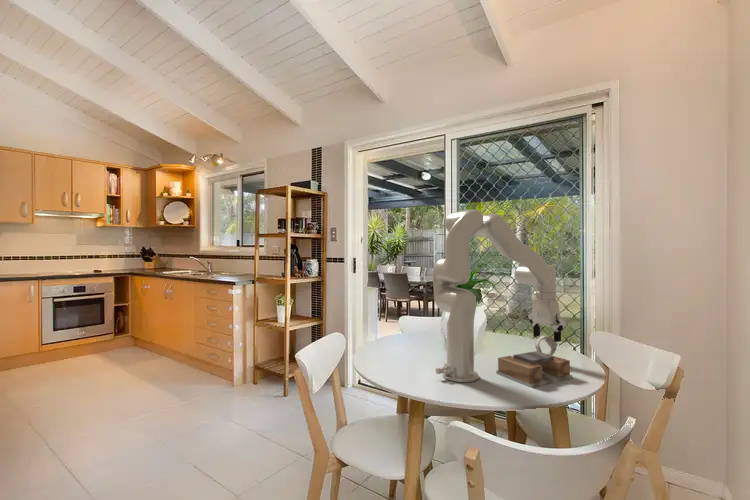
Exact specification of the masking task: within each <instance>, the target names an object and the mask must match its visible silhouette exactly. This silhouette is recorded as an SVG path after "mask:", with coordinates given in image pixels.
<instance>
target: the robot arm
mask: <svg viewBox="0 0 750 500" xmlns="http://www.w3.org/2000/svg"><path fill="white" fill-rule="evenodd" d="M444 224H445V229H446V231H448V234H447V236H446V238H445V243H444V244H445V245H444V250H445V251H444V256H445V257H443V258H440V259H438V260H437V261H436V262H435V264H434V266H433V269H432V287H433V298H434V302H435V303H434V304H435V305H436V306H437V309H439V310H441V311H443V312H446V313H449V316H448V319H447V322H446V363H444V365H443V366H442V367H437V368H435V373H436V374H437V375H441V374H442V377H443V378H444V379H446V380H449V381H451V382H457V383H471V382H476V381H477V380H479V377H480V376H479V373H478V372H477V371H475V314H476V311H477V310H476V309H477V299H476V296H475V295H474V293H473V292H472V291H470V290H468V289H466V288H461V287H456V286H457V285H458V286H459V285H460V286H461V285H465V284H467V283H468V282H469V281H470V278H471V257H470V245H471V241H472V239H473V238H482V237H483V238H485V237H487V238H488V240H489V241H490V242H491V243H492V245H493V246H494V247H495V248H496V250H497V251H498V253H499V254H500V255H501V256H502V257H504V258H506V259H509V260H510V261H511V260H512V262H513V261H514V262H516V263H518V264H520V265H521V266H520V265H519V266H518V267H517V268H516V269H515V271H514V278H515V280H516V282H518V283H519V284H522V285H530V286H533V285H534V287H535V291H534V292H533V295H534V296H535V298H533V302H532V307H531V308H532V311H531V313H529V314H527V316H528V319H529V323H530V324H531V326H532V329H533V335H532V336H533V338H538V337H540V336H541V327H540V326H541V325H542V326H545V327H552V329H553V330H554V331H553V339H554V342H556V343H559V342H561V341H562V332H563V330H564V329H565V328H566V325H567V324H568V321H567V320H566V319H564V318H563V317H562V316H561V312H560V306H559V301H558V300H557V280H556V279H557V278H556V267H555V266H554V265H552V264H547V262H546V261H545V259H544V258H543V257H542V256H541V255H540V254H539V253H538V252H536V251H535V250H534V249H532V248H530V247H529V246H528V245H526V244H524V243H523V242H521V241H520V240H519V238H518V237H517V235H516V234H515V232H513V230H512V228H511V227H510V226H509V224H508V223H507V222H506V220H505V219H504V217H503V216H502V215H501V214H498V213H487V214H483V213H482V212H481V211H480V210H478V209H465V210H461V211H455V212H452V213H450V214H448V216H447V217H446V219H445V221H444Z"/></svg>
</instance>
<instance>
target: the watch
mask: <svg viewBox="0 0 750 500" xmlns="http://www.w3.org/2000/svg"><path fill="white" fill-rule="evenodd" d="M543 339H545V343H546V344H547V345H548V346H549V348H550V351H549V352H548V353H547V354H549V355H552V356H554V354H556V351H557V347H558V344H557V342H554V337H551V336H549V335H548V336H547V335H540V336H538V337H537V339H536V341H535V347H534V348H535V350H536V351H539V352H542V353H543V351H542V348H541V346H540V343H541V341H542V340H543Z"/></svg>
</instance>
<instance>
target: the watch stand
mask: <svg viewBox="0 0 750 500" xmlns="http://www.w3.org/2000/svg"><path fill="white" fill-rule="evenodd" d="M570 362H571V360H569V359H566V358H562V357H560V356H559V357H558V356H556V355H549V354H548V353H545V352H543V351H542V352H539V351H537V350H536V351H535V350H534V351H529V352H524V353H516V354H513V355H507V356H501V357H498V358H497V369H498V370H495V373H496V374H497V375H500V376H502V377H504V378H507V379H509V380H512V381H513V382H516V383H518V384H519V383H520V384H521V385H524V386H525V387H526V386H527V387H528V388H531V389H532V388H536V387H537V388H538V387H540V386H541V387H542V386H547V385H549V384H553V383H554V384H555V383H558V382H559V383H560V382H562V381H566V380H572V379H573V375H572V374H571V365H570V364H571V363H570Z"/></svg>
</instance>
